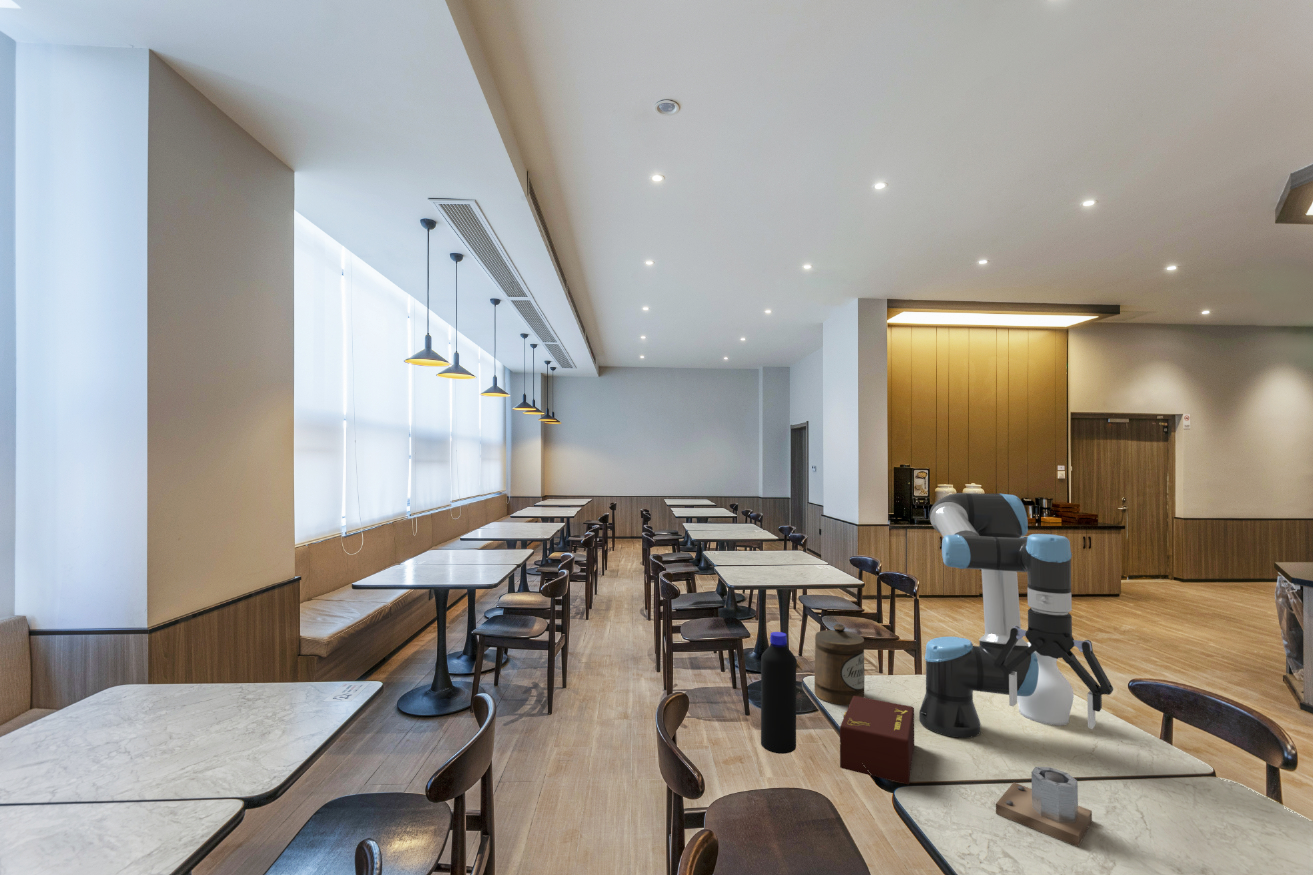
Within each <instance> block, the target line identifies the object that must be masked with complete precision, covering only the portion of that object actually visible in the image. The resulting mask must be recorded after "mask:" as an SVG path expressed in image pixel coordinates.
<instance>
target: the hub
mask: <svg viewBox="0 0 1313 875" xmlns="http://www.w3.org/2000/svg"><path fill="white" fill-rule="evenodd" d="M1046 772H1053V773H1057V774H1059V775H1061V776H1062V777H1063V778H1064V783H1056V782H1053V781H1050V780H1047V779H1045V773H1046ZM1030 775H1031V789H1032V807H1033V808H1034V809H1035V810H1036V811H1037V812H1038V813H1039V814H1040V815H1041V816H1043V817H1046V818H1048V819H1051V820H1053V821H1056V822H1059V823H1075V822H1076V820H1077V818H1078V806H1079V795H1078V794H1079V793H1078V792H1079V791H1078V788H1079V787H1078V780H1077V779H1075V777H1073V776H1071V774H1069V773H1068V772H1065V771H1063V770H1060V769H1057V768H1053V767H1050V766H1049V767H1048V766H1035V767H1034V768H1033V770H1032V771H1031V774H1030Z"/></svg>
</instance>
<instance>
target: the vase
mask: <svg viewBox="0 0 1313 875" xmlns="http://www.w3.org/2000/svg"><path fill="white" fill-rule="evenodd" d="M1027 643H1028V645H1029V647H1030V646H1031V644H1030V642H1029V641H1027ZM1034 653H1035V654H1036V656H1037V659H1038V666H1039V675H1038V682H1037V686H1036V689H1035V691H1034V693H1033V694H1032V695H1030V696H1027V697H1025V696H1017V704H1018V712H1019V714H1020V715H1021V716H1022V717H1024V718H1026V719H1029V720H1030V721H1032V722H1035V723H1040V724H1042V725H1049V726H1066V725H1068V724H1069V722H1070V714H1071V710H1072V707H1073V703H1074V696H1075V695H1074V694H1075V693H1074V690H1073V686H1072V684H1071V683H1070V681H1069V680H1068V679H1067V678H1066V677H1065V676H1064V674H1063V673H1062V671H1061V670H1060V668H1059V667H1058V663H1057V661H1058V659H1056V658H1052V657H1050V656H1042V655H1040V654H1039V653H1037V652H1036V651H1035V652H1034Z"/></svg>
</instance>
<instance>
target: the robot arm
mask: <svg viewBox="0 0 1313 875" xmlns="http://www.w3.org/2000/svg"><path fill="white" fill-rule="evenodd" d="M929 520H930V523H931V525H932V528H934V530H935V531H936V532H938V533H939V534H941V536H942V541H941V542H942V543H941V557H942V561H943V564H944V565H945V566H946V567H948V568H957V569H960V570H965V569H967V570H981V582H982V584H981V585H982V598H983V599H982V600H983V601H982V603H983V619H984V621H983V622H984V633H983V635H982V636H981V637H980V638H978V639H979V640H978V641H979V642H978V644H979V645H978V646H977V645H973V643H972V641H971V640H970V639H967V638H964V637H959V636H940V637H935V638H931V639H930V640H928V642H927V643H926V645H925V656H924V660H925V694H924V697H923V700H922V704H921V706H920V708H919V711H918V714H919V715H918V716H919V717H918V718H919V722H920V724H921V725H922V726H923V727H925V728H926V729H928V730H930V731H932V732H934V733H936V734H938V735H939V734H940V735H944V736H947V737H952V738H958V739H959V738H962V739H966V738H968V739H970V738H973V737H977V736H978V735H980V734H981V732H982V731H981V730H982V728H981V721H980V717H979V715H978V712H977V710H976V706H975V703H974V698H973V697H974V692H980V693H981V692H982V693H991V694H998V695H1007V696H1008V697H1009V698H1008V699H1009V700H1008V702H1009V704H1008V705H1009V706H1010V707H1015V706H1016V705H1017V704H1018V700H1017V696H1025V697H1027V696H1030V695H1032V694H1033V693H1034V691H1035V689H1036V686H1037V682H1038V675H1039V666H1038V659H1037V656H1036V654H1035V653H1034V652H1035V651H1036V652H1037V653H1039V654H1040V655H1042V656H1050V657H1052V658H1056V659H1057V660H1059V659H1061V658H1062V660H1063V661H1064V662H1065V663H1066V664H1067V665H1068V666H1070V668H1071V669H1072V670H1073V671H1074V673H1075V674H1076V675H1077V676H1078V678H1079V679H1080V680H1081V681H1082V682H1083V684H1084V685H1085V686H1086V687H1087V689H1089V691H1088V692H1087V694H1086V695H1087V698H1086V699H1087V728H1089V729H1094V728H1095V726H1096V722H1097V721H1096V712H1098V713H1099V712H1100V711H1101V710H1102V709H1103V704H1102V703H1103V702H1102V701H1103V698H1102V696H1103V695H1107V696H1109V695H1111V694H1112V693H1113V691H1114V687H1113V685H1112V683H1111V681H1110V679H1109V677H1108V676H1107V674H1106V673H1105V670H1104V669H1103V668H1102V665H1101V664H1100V661H1099V660H1098V658H1097V656H1096V654H1095V653H1094V650H1093V642H1092V641H1091V640H1090V639H1085V640H1077V639H1074V637H1073V636H1074V635H1073V618H1072V615H1071V613H1070V612H1072V611H1073V610H1072V609H1073V607H1072V602H1073V601H1072V550H1071V542H1070V539H1069V538H1068V537H1066V536H1064V535H1057V534H1050V533H1049V534H1048V533H1047V534H1046V533H1032V534H1029V535H1028V536H1026V535H1027V534H1028V531H1029V528H1028V525H1029V524H1028V522H1029V521H1028V515H1027V511H1026V508H1025V505H1024V503H1023V502H1022V500H1021V499H1020V498H1019V497H1018V496H1016V495H1015V494H1005V493H1001V492H1000V493H978V492H977V493H975V492H974V493H973V492H972V493H969V492H967V493H966V492H956V493H952V494H948V495H946V496H943V497H942V498H940V499H938V500H936V501H935V502H934V504H932V506H931V508H930V510H929ZM1018 573H1026V574H1027V606H1028V607H1029V608H1028V610H1027V630H1025V629H1022V624H1021V623H1022V622H1021V613H1020V611H1021V610H1020V598H1019V585H1018V584H1019V583H1018V580H1019V579H1018ZM1023 637H1025V638H1026V639H1027V641H1026V640H1024V638H1023ZM1028 642H1030V644H1031V646H1030V647H1029V645H1028ZM1074 647H1075V648H1077V649H1078V651H1079V652H1080V653H1082V654H1083V657H1084V658H1085V661H1086V663H1087V664H1088V666H1089V668H1090V670H1091V671H1092V674H1093V675H1094V677H1095V679H1096V680H1095V679H1094V677H1093V676H1092V675H1091V674H1090V673H1089V671H1088V670H1087V669H1086V668H1085V667H1084V665H1082V663H1081V662H1080V661H1079V660H1078V659H1077V657H1076V655H1075V653H1073V651H1072V649H1073V648H1074Z"/></svg>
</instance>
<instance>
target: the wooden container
mask: <svg viewBox="0 0 1313 875" xmlns="http://www.w3.org/2000/svg"><path fill="white" fill-rule="evenodd" d="M845 629H846V627H845V625H843V624H842V623H835V624H834V625H833V629H830V630H828V629H825V630H820V631H817V632H816V633H815V635H814V636H815V637H814V638H815V639H814V640H815V641H814V644H815V646H814V647H815V648H814V652H815V653H814V695H815V696H816V697H817V698H818V699H820V700H822V701H824V702H827V703H830V704H834V705H840V706H841V705H842V706H849V705H850V703H851V700H852V698H853V696H858V697H863V698H865V679H866V678H865V676H866V675H865V673H866V672H865V639H864V637H862V635H860V634H858V633H854V632H851V631H845Z"/></svg>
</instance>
